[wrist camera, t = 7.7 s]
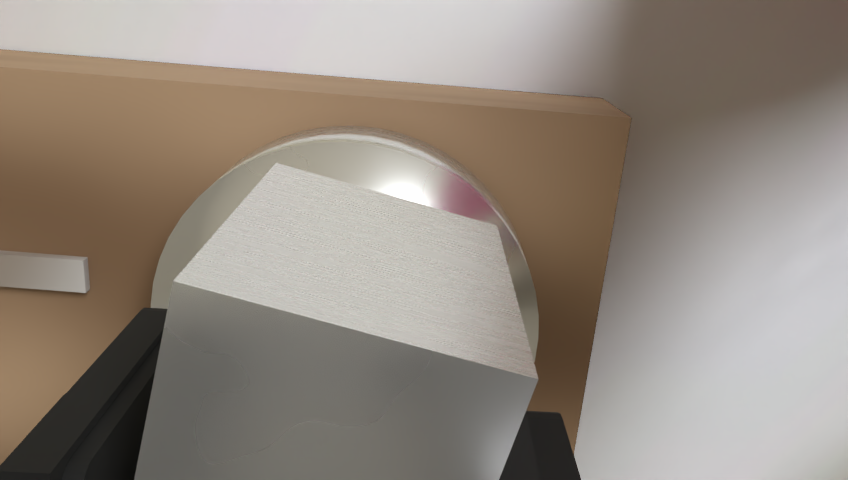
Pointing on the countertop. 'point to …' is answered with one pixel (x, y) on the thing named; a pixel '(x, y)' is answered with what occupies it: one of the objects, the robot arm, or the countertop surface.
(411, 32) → the countertop surface
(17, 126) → the plate
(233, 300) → the knob
